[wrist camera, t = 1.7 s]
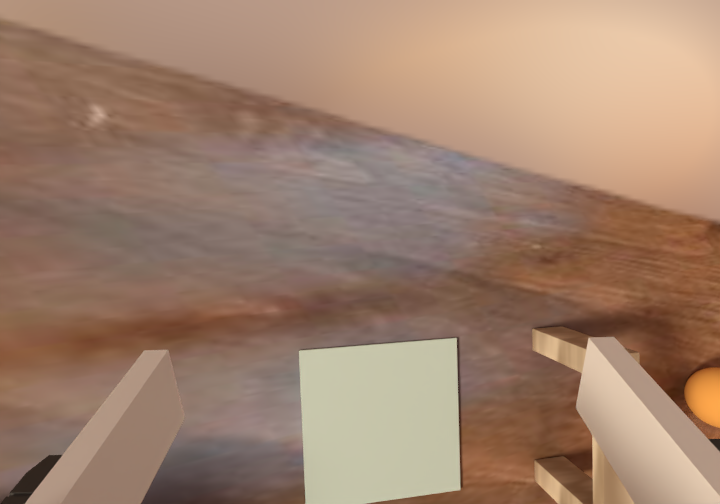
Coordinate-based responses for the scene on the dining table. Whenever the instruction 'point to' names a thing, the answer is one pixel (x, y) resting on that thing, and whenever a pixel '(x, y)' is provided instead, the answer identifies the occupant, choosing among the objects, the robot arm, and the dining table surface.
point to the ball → (704, 395)
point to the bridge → (561, 477)
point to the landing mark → (380, 421)
